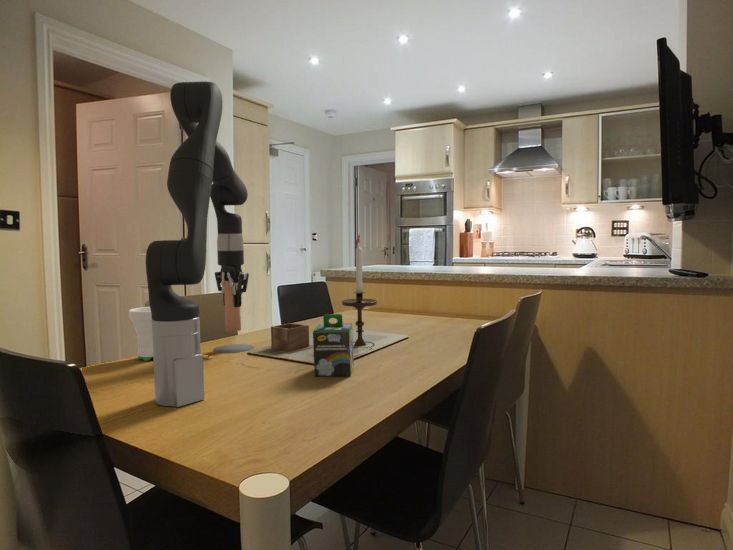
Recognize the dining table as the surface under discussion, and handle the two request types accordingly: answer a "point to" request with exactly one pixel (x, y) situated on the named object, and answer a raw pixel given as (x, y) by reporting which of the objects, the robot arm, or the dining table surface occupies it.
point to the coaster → (233, 348)
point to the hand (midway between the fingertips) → (232, 306)
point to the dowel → (231, 309)
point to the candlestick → (359, 298)
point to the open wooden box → (289, 338)
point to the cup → (143, 331)
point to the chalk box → (333, 347)
